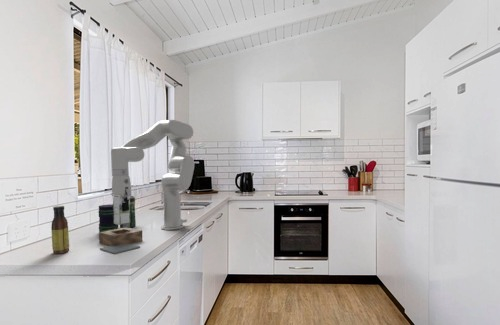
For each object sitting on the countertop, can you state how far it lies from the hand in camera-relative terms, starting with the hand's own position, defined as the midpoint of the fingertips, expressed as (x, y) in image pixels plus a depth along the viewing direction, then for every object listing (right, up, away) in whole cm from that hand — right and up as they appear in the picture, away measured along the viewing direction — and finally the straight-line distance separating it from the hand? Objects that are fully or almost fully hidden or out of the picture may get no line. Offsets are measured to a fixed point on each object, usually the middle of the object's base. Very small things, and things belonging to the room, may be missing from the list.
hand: (121, 209), depth 154 cm
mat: (+4, -15, -13) cm, 20 cm away
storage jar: (-15, -16, +20) cm, 29 cm away
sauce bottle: (-19, -16, -17) cm, 30 cm away
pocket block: (0, -15, 0) cm, 15 cm away
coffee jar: (-11, -16, +35) cm, 40 cm away
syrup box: (0, -7, 0) cm, 7 cm away
